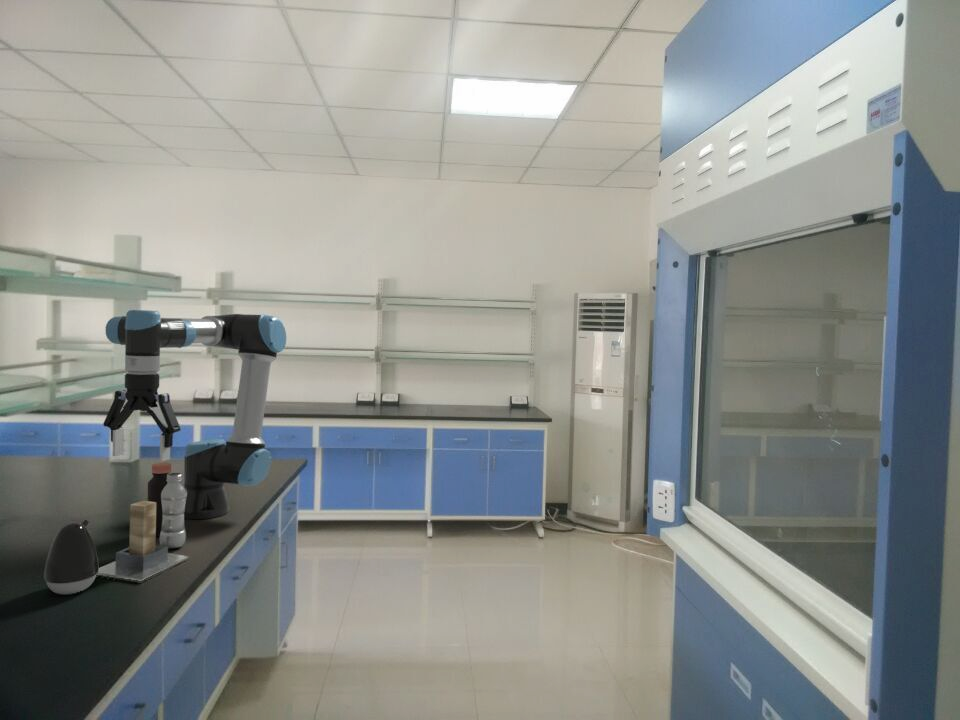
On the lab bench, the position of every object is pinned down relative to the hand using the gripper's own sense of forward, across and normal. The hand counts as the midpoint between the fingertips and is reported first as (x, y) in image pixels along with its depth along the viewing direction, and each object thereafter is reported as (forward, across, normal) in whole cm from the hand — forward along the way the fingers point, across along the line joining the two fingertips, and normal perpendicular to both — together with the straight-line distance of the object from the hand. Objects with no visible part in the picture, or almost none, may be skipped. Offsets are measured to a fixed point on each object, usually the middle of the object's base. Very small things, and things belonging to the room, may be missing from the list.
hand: (141, 457), depth 154 cm
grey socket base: (+27, +2, -2) cm, 27 cm away
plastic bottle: (+27, 0, +12) cm, 30 cm away
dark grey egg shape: (+27, -2, -17) cm, 32 cm away
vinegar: (+27, -11, +20) cm, 36 cm away
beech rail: (+26, +2, -2) cm, 26 cm away
